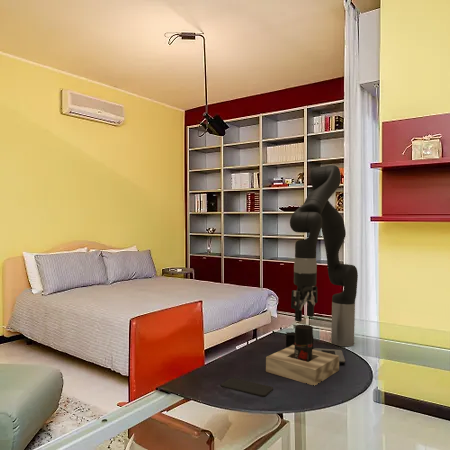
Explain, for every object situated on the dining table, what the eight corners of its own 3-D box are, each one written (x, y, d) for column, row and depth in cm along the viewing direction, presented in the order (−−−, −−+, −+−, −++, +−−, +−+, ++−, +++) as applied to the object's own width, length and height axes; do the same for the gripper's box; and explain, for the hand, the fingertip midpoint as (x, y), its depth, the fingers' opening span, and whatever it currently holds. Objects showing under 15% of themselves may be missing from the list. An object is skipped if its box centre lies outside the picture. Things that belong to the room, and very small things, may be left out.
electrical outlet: (345, 367, 147) (345, 360, 147) (314, 364, 149) (314, 358, 149) (341, 355, 160) (341, 349, 160) (313, 353, 162) (313, 347, 162)
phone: (231, 377, 133) (274, 387, 125) (230, 380, 133) (274, 389, 125) (219, 385, 126) (264, 395, 119) (219, 387, 126) (264, 398, 119)
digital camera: (312, 350, 164) (312, 332, 164) (313, 354, 159) (313, 336, 159) (285, 348, 166) (286, 331, 165) (285, 352, 160) (286, 334, 160)
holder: (292, 358, 153) (293, 345, 153) (338, 370, 142) (339, 355, 142) (265, 371, 139) (266, 356, 139) (314, 386, 128) (315, 369, 128)
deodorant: (315, 371, 141) (316, 327, 141) (305, 375, 137) (306, 330, 137) (300, 366, 145) (301, 323, 145) (290, 370, 141) (291, 326, 141)
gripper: (305, 268, 148) (304, 313, 148) (284, 272, 137) (283, 320, 137) (324, 270, 143) (324, 316, 144) (305, 274, 132) (304, 324, 133)
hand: (304, 318), depth 140 cm, fingers open, 8 cm apart
